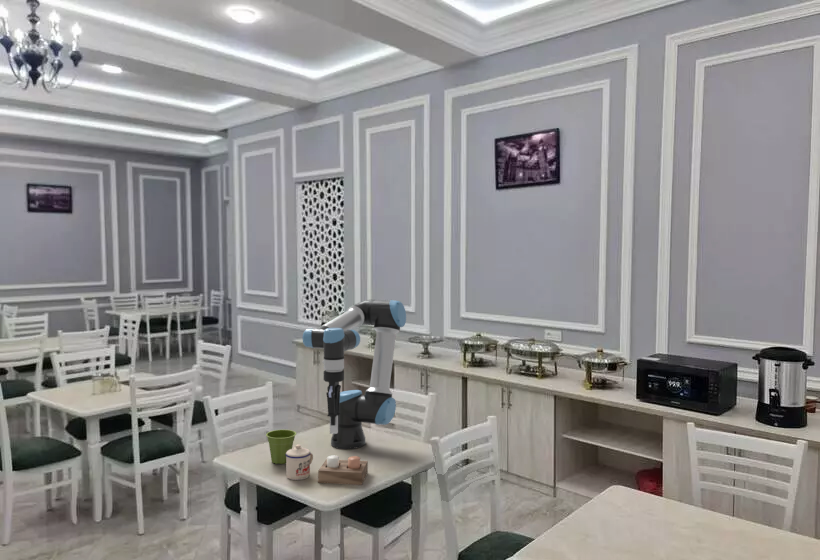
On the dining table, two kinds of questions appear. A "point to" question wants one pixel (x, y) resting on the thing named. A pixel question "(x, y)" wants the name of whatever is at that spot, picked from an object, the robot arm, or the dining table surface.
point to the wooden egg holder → (343, 473)
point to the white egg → (333, 461)
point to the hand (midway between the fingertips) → (333, 433)
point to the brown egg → (354, 462)
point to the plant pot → (280, 444)
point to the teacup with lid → (298, 463)
